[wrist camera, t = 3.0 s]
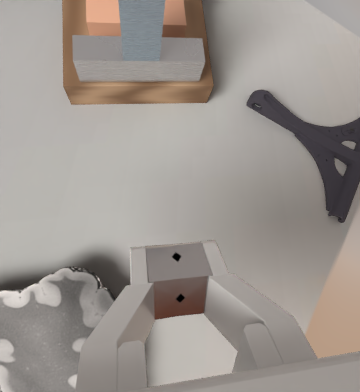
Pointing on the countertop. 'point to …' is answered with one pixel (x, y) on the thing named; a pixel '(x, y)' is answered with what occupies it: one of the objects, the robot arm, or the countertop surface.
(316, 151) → the bracket
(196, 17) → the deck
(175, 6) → the tile
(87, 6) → the tile
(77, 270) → the brain slice
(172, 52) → the scraper
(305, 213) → the countertop surface
